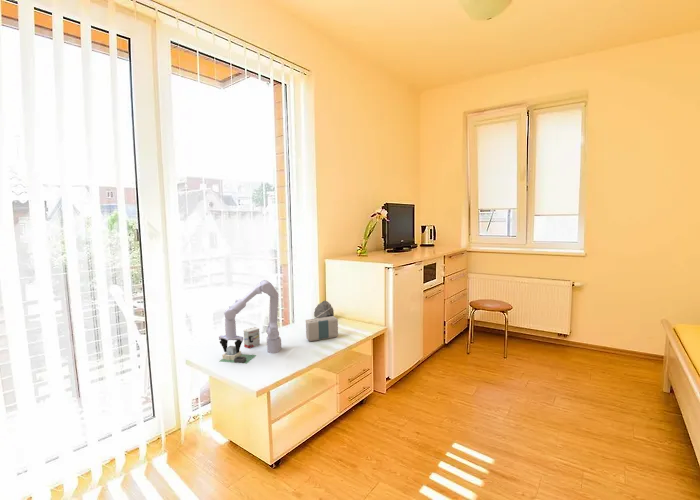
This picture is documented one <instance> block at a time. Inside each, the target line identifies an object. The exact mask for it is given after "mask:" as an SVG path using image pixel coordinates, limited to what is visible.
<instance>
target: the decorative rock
mask: <svg viewBox="0 0 700 500" xmlns="http://www.w3.org/2000/svg"><path fill="white" fill-rule="evenodd" d="M331 307H332V308H331ZM329 308H330V309H329ZM328 309H329V310H328ZM326 310H327V311H326ZM325 311H326V312H325ZM334 311H335V310H334V308H333V306H332V305H331V303H330V302H329V301H327V300H322V301H321V302H320V303H318V304H317V305H316V307H315V309H314V312H313V317H314V318H316V317H317V316H318V317H317V318H323V317H330V316H334V313H335V312H334ZM323 312H324V313H323ZM322 313H323V314H322ZM320 314H321V315H320ZM319 315H320V316H319ZM334 317H335V316H334Z"/></svg>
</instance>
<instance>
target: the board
mask: <svg viewBox="0 0 700 500" xmlns="http://www.w3.org/2000/svg"><path fill="white" fill-rule="evenodd" d="M239 357H246V361H245V362H244V363H243V364H248V363H250V362H251V361H252V360H253V359H254V358H255V357H257V355H256V354H245V353H244V354H243V353H241V356H239ZM219 362H220V363H221V362H223V363H231V364H232V363H233V364H235V363H234V360H226V359H223V358H222V359H219V361H218V363H219Z"/></svg>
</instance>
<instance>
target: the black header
mask: <svg viewBox="0 0 700 500" xmlns="http://www.w3.org/2000/svg"><path fill="white" fill-rule="evenodd" d="M245 361H246V357H238V356H237V357H236V358H235V359H234V363H233V364H235V363H236V364H245V363H244V362H245Z"/></svg>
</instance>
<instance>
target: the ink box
mask: <svg viewBox="0 0 700 500" xmlns="http://www.w3.org/2000/svg"><path fill="white" fill-rule="evenodd" d="M260 338H261V337H260V328H258V327H256V326H253V327H250V328H249V327H248V328H246V329H244V330H243V344H244V345H243V346H244V348H247V349H251V348H254V347H259V346H260V345H261V339H260Z"/></svg>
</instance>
